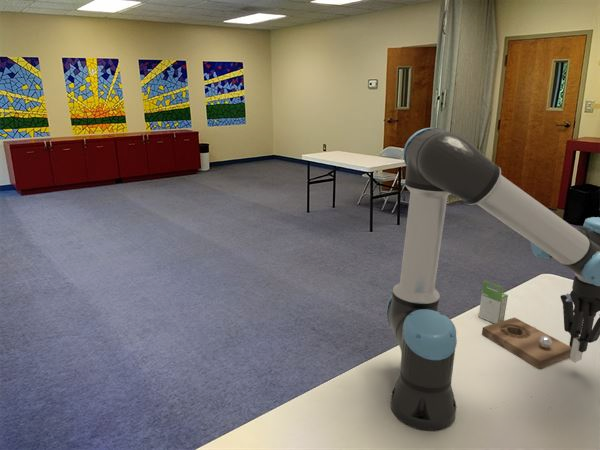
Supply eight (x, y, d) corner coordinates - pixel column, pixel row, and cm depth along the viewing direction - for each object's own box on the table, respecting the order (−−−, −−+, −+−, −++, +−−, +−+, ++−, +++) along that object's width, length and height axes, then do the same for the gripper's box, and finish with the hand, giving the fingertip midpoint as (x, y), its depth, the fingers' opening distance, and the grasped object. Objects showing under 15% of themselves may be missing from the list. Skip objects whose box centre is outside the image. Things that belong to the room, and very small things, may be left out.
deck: (572, 355, 132) (573, 348, 131) (538, 368, 126) (540, 360, 126) (513, 324, 149) (514, 317, 149) (481, 334, 143) (482, 327, 143)
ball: (545, 351, 130) (547, 341, 129) (535, 345, 133) (536, 335, 132) (553, 348, 131) (555, 338, 130) (543, 343, 134) (545, 332, 133)
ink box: (504, 321, 151) (509, 284, 147) (497, 325, 149) (502, 287, 145) (485, 313, 156) (489, 277, 152) (478, 317, 154) (482, 280, 150)
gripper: (627, 285, 113) (608, 368, 120) (576, 267, 124) (562, 344, 131) (608, 291, 110) (590, 376, 117) (557, 272, 121) (544, 351, 128)
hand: (575, 359), depth 124 cm, fingers closed
